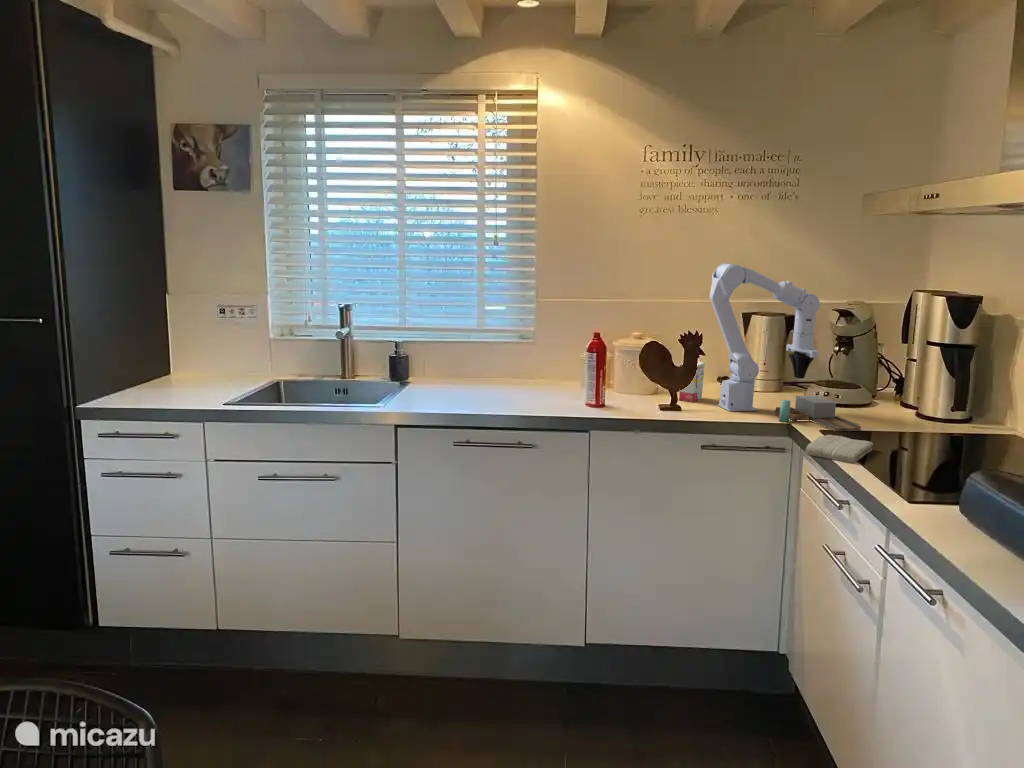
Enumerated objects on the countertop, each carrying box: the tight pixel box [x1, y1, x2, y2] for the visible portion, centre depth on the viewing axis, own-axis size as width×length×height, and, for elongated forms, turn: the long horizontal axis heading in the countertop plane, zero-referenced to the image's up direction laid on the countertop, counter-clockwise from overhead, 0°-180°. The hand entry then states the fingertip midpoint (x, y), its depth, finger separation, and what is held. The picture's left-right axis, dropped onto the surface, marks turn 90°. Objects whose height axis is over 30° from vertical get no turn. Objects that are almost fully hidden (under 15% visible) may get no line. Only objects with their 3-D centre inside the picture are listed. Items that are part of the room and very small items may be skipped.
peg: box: [778, 399, 792, 423], centre depth 232 cm, size 3×3×6 cm
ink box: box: [678, 361, 706, 403], centre depth 258 cm, size 9×5×12 cm, turn 147°
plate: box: [809, 415, 862, 432], centre depth 233 cm, size 8×22×3 cm, turn 11°
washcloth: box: [804, 434, 874, 464], centre depth 200 cm, size 12×18×3 cm, turn 144°
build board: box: [774, 406, 810, 422], centre depth 237 cm, size 5×10×2 cm, turn 11°
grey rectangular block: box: [794, 395, 837, 418], centre depth 238 cm, size 7×10×4 cm
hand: (799, 377), depth 247 cm, fingers closed
